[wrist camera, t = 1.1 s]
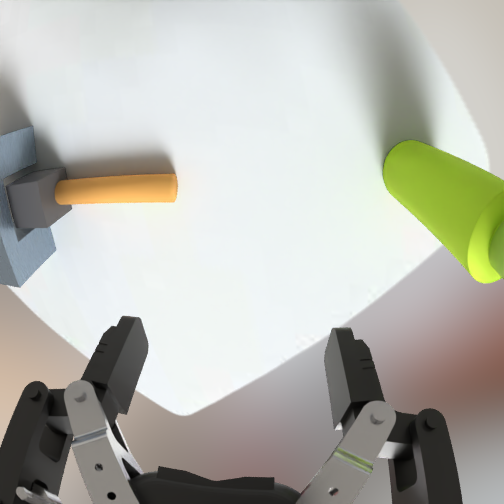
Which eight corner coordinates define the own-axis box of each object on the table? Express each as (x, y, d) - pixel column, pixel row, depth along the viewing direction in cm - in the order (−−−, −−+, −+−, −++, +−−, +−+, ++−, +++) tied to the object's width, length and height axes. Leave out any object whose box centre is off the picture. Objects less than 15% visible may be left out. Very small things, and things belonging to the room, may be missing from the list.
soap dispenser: (369, 201, 24) (501, 391, 7) (394, 130, 21) (600, 241, 4) (419, 218, 25) (547, 379, 7) (444, 154, 21) (616, 271, 4)
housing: (1, 136, 21) (-46, 154, 14) (32, 125, 21) (-19, 142, 14) (24, 248, 28) (-11, 281, 22) (56, 250, 28) (20, 287, 22)
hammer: (32, 171, 23) (5, 186, 19) (176, 158, 23) (158, 172, 19) (40, 210, 26) (15, 228, 22) (179, 207, 25) (164, 229, 21)
